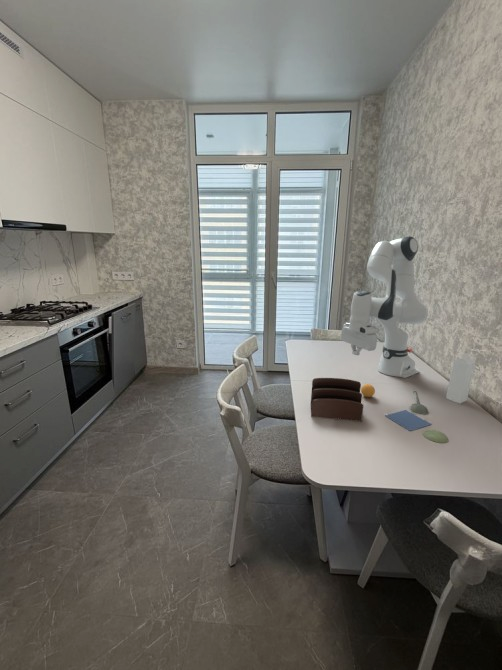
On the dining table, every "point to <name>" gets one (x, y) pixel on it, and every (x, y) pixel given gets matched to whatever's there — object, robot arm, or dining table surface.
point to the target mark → (408, 420)
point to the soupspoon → (418, 407)
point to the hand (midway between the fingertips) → (355, 354)
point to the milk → (460, 379)
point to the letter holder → (336, 399)
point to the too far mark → (435, 436)
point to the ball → (368, 390)
